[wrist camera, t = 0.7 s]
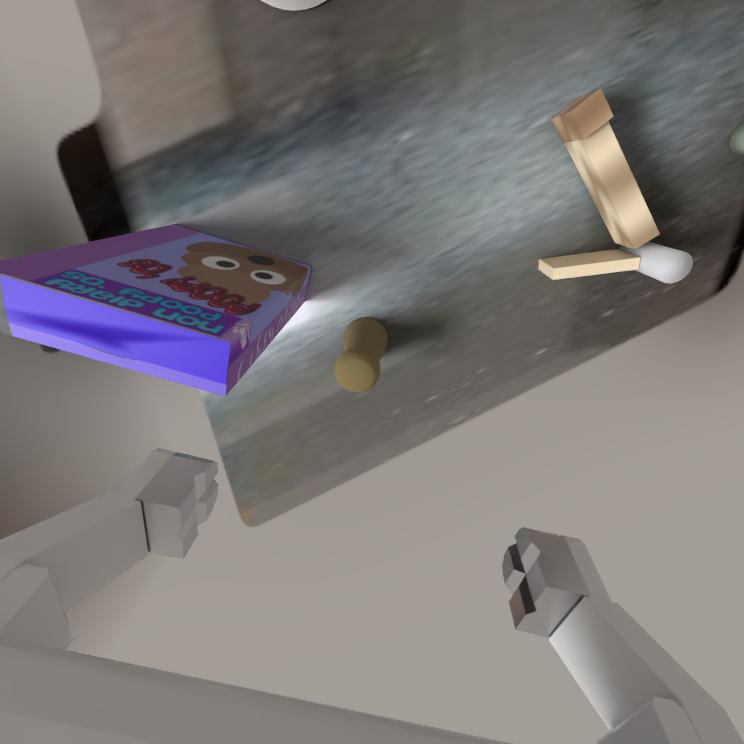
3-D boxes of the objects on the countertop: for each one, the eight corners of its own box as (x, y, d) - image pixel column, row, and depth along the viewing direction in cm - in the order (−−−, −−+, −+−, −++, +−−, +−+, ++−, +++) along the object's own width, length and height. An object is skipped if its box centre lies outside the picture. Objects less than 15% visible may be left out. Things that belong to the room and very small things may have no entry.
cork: (343, 316, 49) (327, 351, 40) (389, 318, 49) (383, 353, 39) (344, 357, 52) (329, 399, 42) (387, 359, 52) (382, 402, 42)
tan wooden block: (638, 228, 40) (667, 234, 36) (614, 243, 41) (639, 251, 37) (576, 98, 36) (600, 87, 31) (550, 119, 37) (571, 111, 32)
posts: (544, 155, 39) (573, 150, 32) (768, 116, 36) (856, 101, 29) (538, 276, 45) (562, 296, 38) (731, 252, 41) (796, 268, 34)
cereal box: (311, 265, 46) (230, 341, 25) (304, 301, 49) (224, 397, 28) (175, 224, 46) (-28, 266, 25) (174, 262, 48) (-12, 331, 27)
